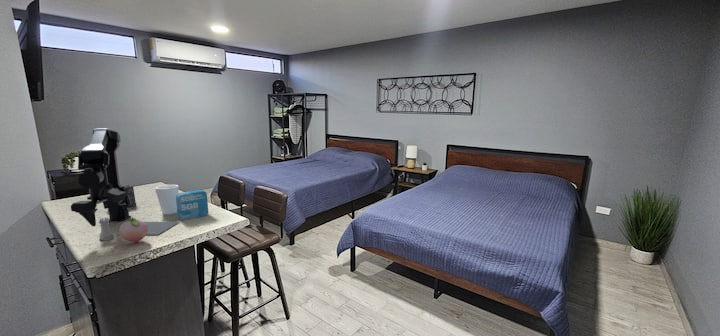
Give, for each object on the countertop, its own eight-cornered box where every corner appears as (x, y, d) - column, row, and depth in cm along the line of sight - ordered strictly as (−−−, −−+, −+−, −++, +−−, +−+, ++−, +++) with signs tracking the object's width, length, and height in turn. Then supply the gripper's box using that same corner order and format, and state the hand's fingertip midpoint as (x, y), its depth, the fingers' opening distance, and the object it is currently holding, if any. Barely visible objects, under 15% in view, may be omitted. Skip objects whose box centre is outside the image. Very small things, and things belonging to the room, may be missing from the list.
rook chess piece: (105, 236, 119) (102, 216, 117) (117, 235, 119) (114, 216, 117) (96, 241, 114) (93, 221, 113) (108, 240, 115) (105, 220, 113)
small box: (132, 203, 161) (129, 184, 159) (136, 205, 157) (134, 186, 156) (107, 208, 153) (104, 188, 151) (111, 210, 149) (108, 190, 147)
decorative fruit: (116, 244, 111) (112, 218, 110) (141, 236, 118) (138, 212, 117) (127, 250, 107) (123, 223, 105) (153, 241, 113) (150, 216, 112)
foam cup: (183, 208, 153) (180, 183, 150) (178, 214, 144) (175, 188, 142) (161, 210, 150) (158, 185, 147) (155, 216, 141) (152, 189, 139)
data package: (180, 221, 135) (177, 195, 133) (178, 218, 138) (175, 193, 136) (208, 215, 143) (206, 190, 141) (205, 212, 147) (203, 188, 144)
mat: (118, 235, 119) (118, 234, 119) (143, 222, 133) (143, 221, 133) (158, 235, 119) (158, 234, 119) (179, 222, 133) (179, 221, 133)
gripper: (97, 188, 103) (104, 231, 106) (137, 177, 122) (142, 213, 125) (65, 188, 103) (73, 231, 106) (110, 176, 122) (116, 213, 125)
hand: (104, 221), depth 115 cm, fingers open, 9 cm apart
